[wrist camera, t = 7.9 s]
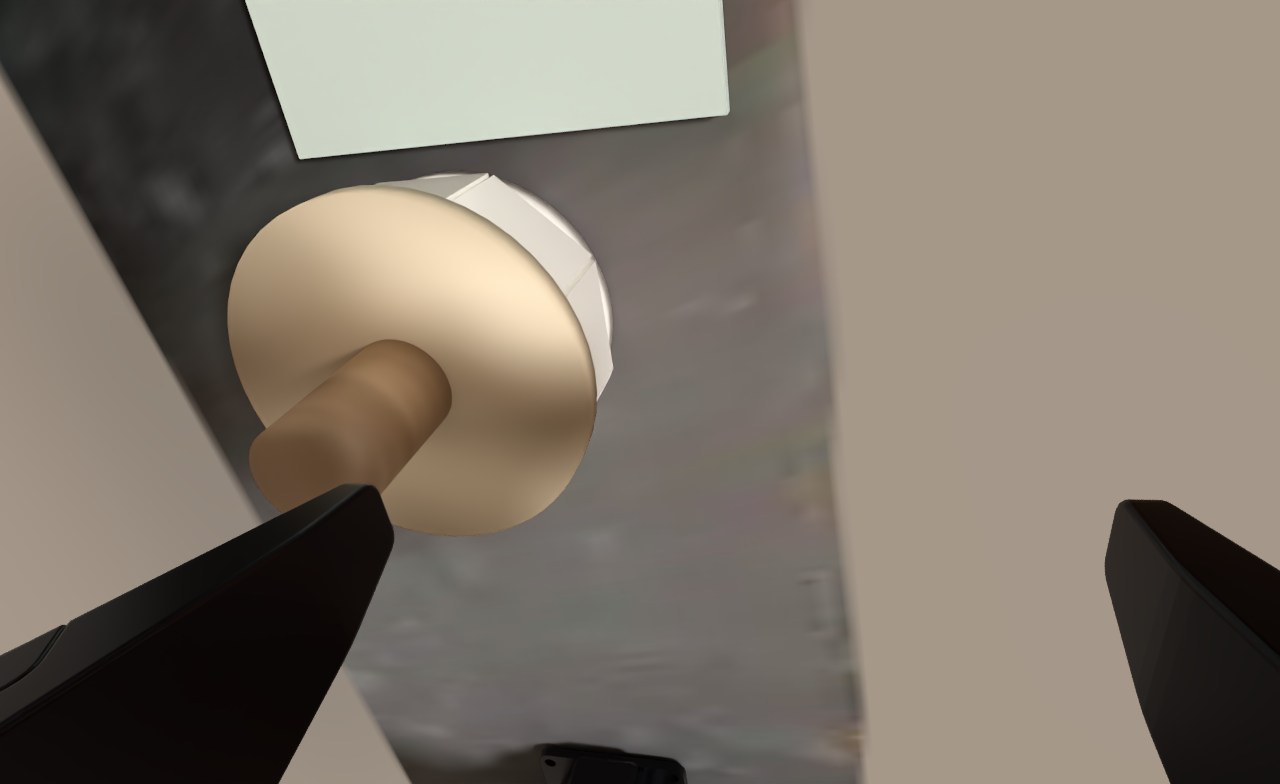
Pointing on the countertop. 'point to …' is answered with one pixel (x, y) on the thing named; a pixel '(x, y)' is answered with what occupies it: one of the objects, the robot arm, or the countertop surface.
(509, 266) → the lid
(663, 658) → the countertop surface
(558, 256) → the white octagonal pot
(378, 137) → the mat
